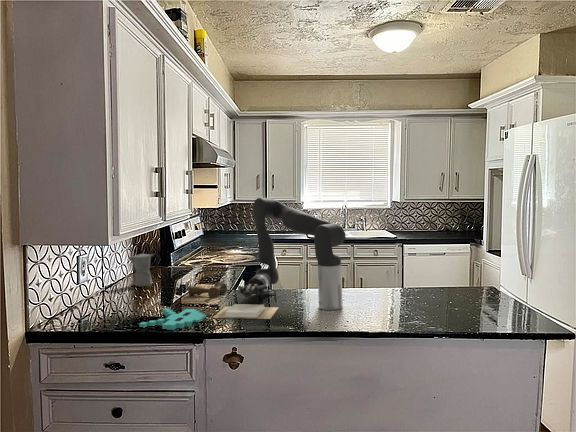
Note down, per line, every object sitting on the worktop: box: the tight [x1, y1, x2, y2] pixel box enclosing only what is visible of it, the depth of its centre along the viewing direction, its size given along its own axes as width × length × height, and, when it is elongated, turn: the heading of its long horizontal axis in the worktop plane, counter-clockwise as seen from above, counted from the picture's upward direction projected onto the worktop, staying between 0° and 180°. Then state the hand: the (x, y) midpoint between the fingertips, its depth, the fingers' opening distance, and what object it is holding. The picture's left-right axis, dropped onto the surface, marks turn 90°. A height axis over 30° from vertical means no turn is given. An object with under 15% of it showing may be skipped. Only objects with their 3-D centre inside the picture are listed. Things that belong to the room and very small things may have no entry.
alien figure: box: [138, 307, 207, 331], centre depth 171 cm, size 20×2×20 cm
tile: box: [226, 303, 265, 319], centre depth 174 cm, size 12×2×11 cm
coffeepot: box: [128, 249, 160, 288], centre depth 236 cm, size 15×9×18 cm, turn 112°
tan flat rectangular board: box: [212, 306, 279, 320], centre depth 176 cm, size 22×15×1 cm
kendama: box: [187, 281, 231, 300], centre depth 207 cm, size 6×10×20 cm
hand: (246, 294), depth 177 cm, fingers closed
